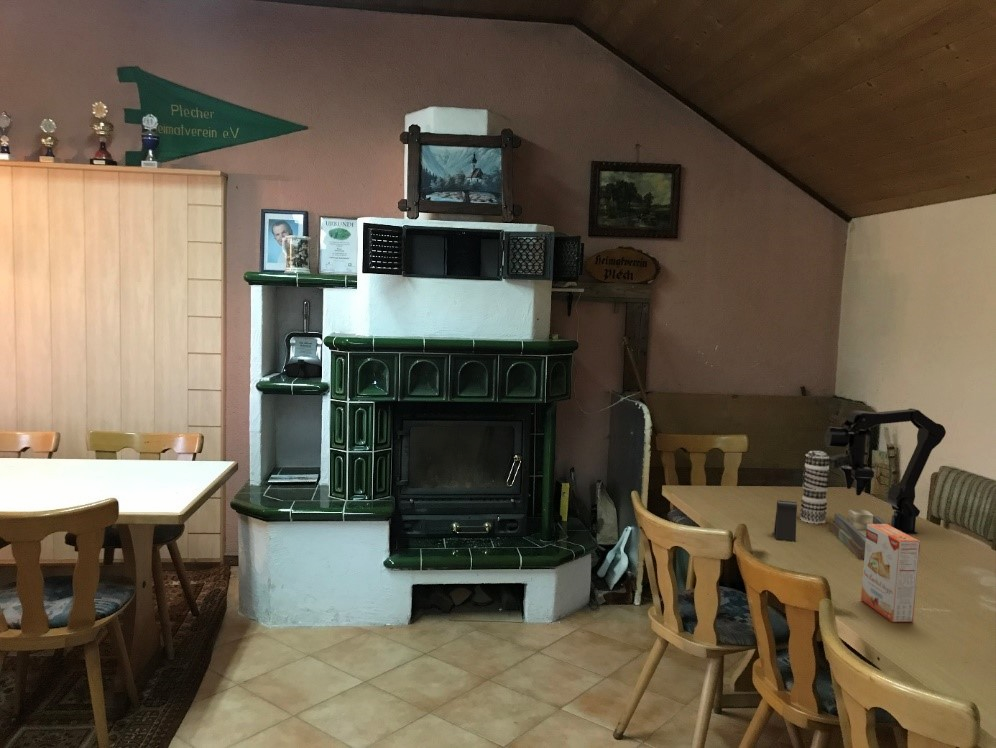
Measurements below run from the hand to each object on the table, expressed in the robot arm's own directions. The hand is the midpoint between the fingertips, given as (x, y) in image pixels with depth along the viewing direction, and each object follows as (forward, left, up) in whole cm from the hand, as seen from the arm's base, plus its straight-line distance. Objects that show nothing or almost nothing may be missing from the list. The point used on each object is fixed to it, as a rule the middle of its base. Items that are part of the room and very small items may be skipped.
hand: (853, 491), depth 264 cm
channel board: (0, +18, -13) cm, 22 cm away
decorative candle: (+11, -7, -13) cm, 18 cm away
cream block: (0, +8, -10) cm, 13 cm away
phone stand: (+26, +16, -13) cm, 33 cm away
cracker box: (+15, +75, -13) cm, 78 cm away
